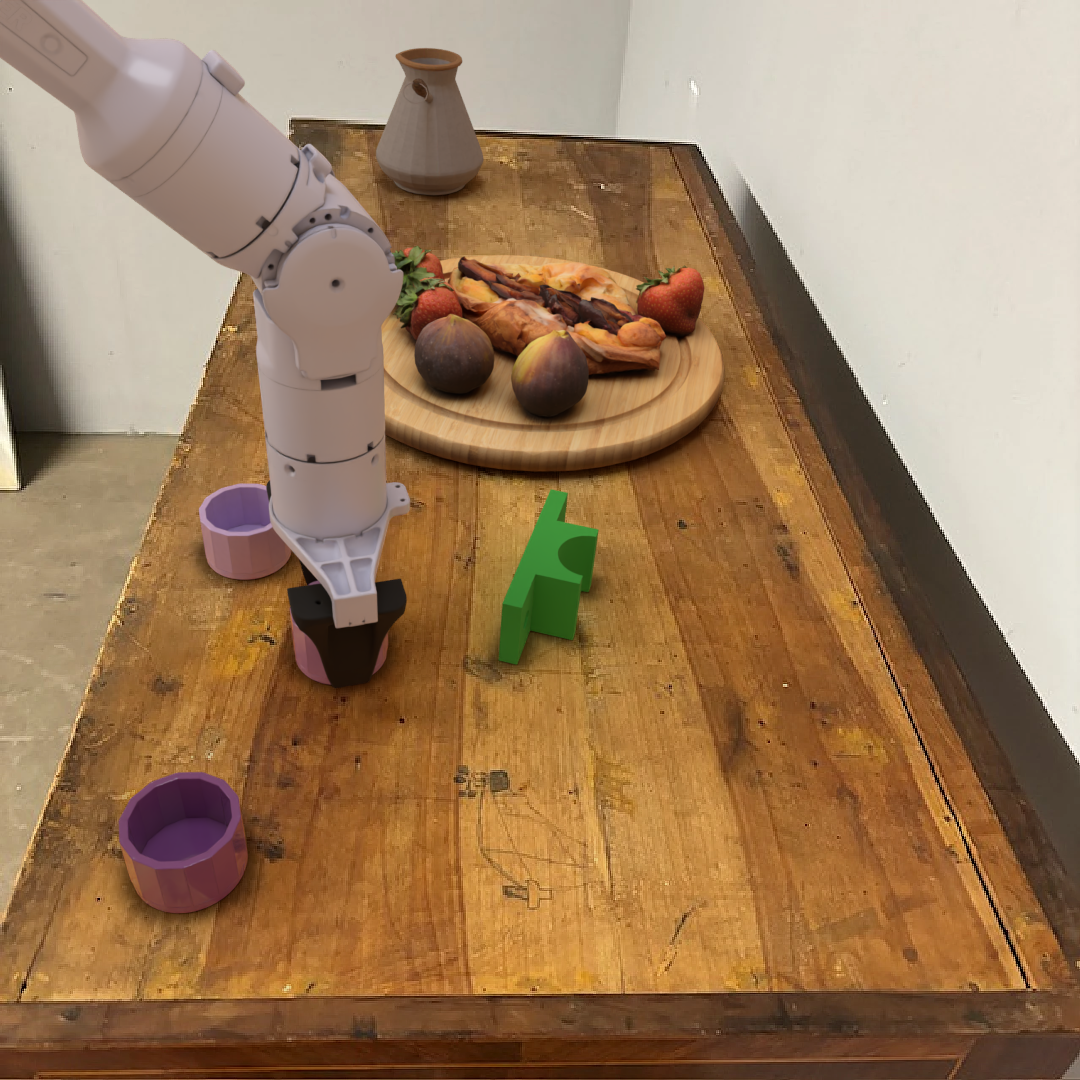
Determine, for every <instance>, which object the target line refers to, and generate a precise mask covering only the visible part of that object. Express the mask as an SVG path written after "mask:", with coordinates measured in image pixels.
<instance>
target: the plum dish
mask: <svg viewBox="0 0 1080 1080" xmlns="http://www.w3.org/2000/svg"><path fill="white" fill-rule="evenodd" d="M245 831H246V830H245V826H244V819H243V814H242V808H241V802H240V797H239V795H238V793H236V792H235V791H234V789H233V788H232V787H231V786H230V785H229V783H228V782H227V781H226V780H224V779H222V778H220V777H217V776H215V775H212V774H209V773H207V772H205V771H204V772H203V771H188V772H187V771H185V772H184V771H180V772H179V771H178V772H174V773H172V774H168V775H166V776H162V777H160V778H158V779H155V780H152V781H151V782H149V783H148V784H147V785H145V786H144V787H143V788H141V789H140V790H139V791H138V792H137V793H135V794H134V795H132V797H131V798H130V799H129V800H128V802H127V804H126V806H125V808H124V810H123V811H122V813H121V815H120V817H119V819H118V843H119V846H120V849H121V852H122V853H121V854H122V856H123V859H124V863H125V866H126V869H127V873H128V876H129V880H130V883H132V885H133V888H134V890H135V892H136V894H137V895H138V896H139V898H140V899H141V900H142V901H143V902H144V903H145V904H147V905H148V906H150V907H152V908H154V909H156V910H158V911H161V912H165V913H171V914H188V913H193V912H197V911H201V910H205V909H207V908H209V907H211V906H213V905H216V904H217V903H219V902H221V901H222V900H223V899H224V898H226V897H227V896H228V895H229V894H230V893H232V891H233V890H234V889H235V888H236V887H237V885H238V884H239V882H241V880H242V878H243V876H244V874H245V872H246V869H247V865H248V858H249V854H248V853H249V852H248V846H247V838H246V832H245Z"/></svg>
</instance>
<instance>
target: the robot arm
mask: <svg viewBox="0 0 1080 1080" xmlns="http://www.w3.org/2000/svg"><path fill="white" fill-rule="evenodd" d="M0 59H1V60H2V61H4V62H5V63H7V64H8V65H9V66H11V67H12V68H13V69H15V70H16V71H17V72H19V73H20V74H22V76H24V77H25V78H27V79H28V80H30V81H31V82H32V83H34V84H36V85H37V86H38V87H40V88H41V89H42V90H44V91H45V92H46V93H47V94H49V95H51V96H52V97H53V98H55V100H57V101H59V102H60V103H62V105H64V106H66V107H67V108H68V109H69V110H71V111H72V112H73V113H74V117H75V122H76V131H77V138H78V145H79V148H80V154H81V156H82V159H83V161H84V163H85V164H86V165H87V167H89V168H90V169H91V170H93V171H94V172H96V173H97V174H98V175H99V176H101V177H102V178H103V179H105V180H106V181H108V182H109V183H110V184H111V185H113V186H114V187H115V188H117V189H118V190H119V191H120V192H122V193H123V194H125V195H126V196H127V197H129V198H130V199H131V200H133V201H134V202H135V203H137V204H138V205H140V206H141V207H142V208H144V209H145V210H146V211H148V212H149V213H150V214H151V215H153V216H154V217H155V218H157V219H158V220H159V221H160V222H162V223H163V224H165V225H166V226H168V227H169V228H170V229H171V230H172V231H174V232H176V233H177V234H178V235H179V236H180V237H182V238H184V240H186V241H187V242H189V243H190V244H192V245H193V246H194V248H195V247H196V248H197V249H198V250H199V251H200V252H202V253H203V254H205V255H206V256H207V257H209V259H211V260H212V261H214V262H215V263H217V264H219V265H221V266H223V267H225V268H228V269H230V270H234V271H237V272H240V273H243V274H244V275H245V274H246V275H248V276H249V277H250V278H251V280H252V281H253V284H254V285H255V286H256V289H254V291H253V292H252V298H253V304H254V305H253V307H254V308H253V309H254V316H255V317H254V318H255V326H256V335H257V341H256V346H255V354H256V355H255V356H256V362H257V373H258V381H259V389H260V391H259V392H260V399H261V400H260V401H261V408H262V409H261V411H262V419H263V427H264V428H263V429H264V439H265V447H266V455H267V456H266V457H267V465H268V466H267V467H268V474H269V480H268V481H267V482H266V485H265V486H266V489H267V494H268V499H269V515H270V522H271V525H272V527H273V529H274V530H275V532H276V533H277V534H278V535H279V536H280V538H281V539H282V540H283V541H284V542H285V543H286V544H287V546H288V547H289V548H290V549H291V550H292V551H291V552H292V553H293V554H294V555H295V556H296V557H297V559H298V561H299V564H300V568H301V571H302V574H303V578H304V581H305V584H306V585H300V586H294V587H288V588H287V589H286V591H287V592H286V593H287V597H288V604H289V610H290V609H291V613H292V617H293V619H294V621H295V623H296V625H297V626H298V628H299V630H300V631H302V632H303V633H304V634H306V635H307V636H308V637H309V638H310V639H311V640H312V642H313V643H314V645H315V646H316V648H317V650H318V652H319V655H320V658H321V661H322V664H323V667H324V670H325V673H326V675H327V678H328V680H329V682H330V684H331V685H330V686H331V687H332V688H334V689H339V688H340V689H341V688H345V687H350V686H357V685H363V684H368V683H370V681H371V679H372V678H373V675H374V674H373V672H374V669H375V666H376V662H377V659H378V655H379V652H380V649H381V646H382V643H383V640H384V638H385V636H386V634H387V633H388V634H389V631H390V629H391V628H392V627H393V626H394V624H395V623H396V622H398V620H400V618H401V617H402V616H403V615H404V614H405V611H406V608H407V602H408V599H407V598H408V597H407V593H406V589H405V586H404V583H403V580H402V578H395V579H388V580H381V581H376V579H377V573H378V569H379V564H380V561H381V557H382V553H383V549H384V545H385V541H386V538H387V534H388V528H389V526H390V525H389V524H390V521H391V520H392V519H393V518H394V517H397V516H404V515H407V514H408V513H409V512H411V498H410V496H409V493H408V490H407V487H406V485H405V484H403V483H402V482H397V481H396V482H395V481H393V482H387V452H386V451H387V449H386V434H385V400H384V356H383V344H382V330H381V325H382V324H383V322H384V321H385V320H386V318H387V317H388V316H389V314H390V313H391V311H392V310H393V308H394V307H395V305H396V303H397V300H398V298H399V295H400V292H401V289H402V284H403V271H402V270H399V269H398V270H397V267H396V266H395V258H394V255H393V254H392V253H393V252H392V251H391V249H392V248H393V247H392V244H391V242H390V240H389V239H388V236H387V235H386V234H385V232H384V230H383V229H382V228H381V227H380V226H379V225H378V224H377V222H376V221H375V219H373V217H371V215H370V214H369V213H368V211H367V210H366V209H365V208H364V206H363V205H362V204H361V203H360V202H359V201H358V200H357V199H356V197H355V196H354V195H353V193H352V192H351V191H350V190H349V188H347V186H346V185H345V184H343V182H342V181H340V180H339V179H337V177H336V174H335V171H334V169H333V167H332V166H333V165H332V164H331V163H330V161H329V160H328V159H327V158H326V156H324V155H323V154H322V153H321V152H320V151H319V150H318V149H317V148H316V147H315V146H314V145H313V144H312V143H307V144H305V145H304V146H302V148H299V146H297V145H296V144H295V143H294V142H293V141H292V140H290V139H289V138H288V137H287V136H286V135H285V134H284V133H283V132H282V131H281V130H279V129H278V128H277V127H276V126H275V125H274V124H273V122H270V120H268V119H267V118H266V117H265V116H264V115H263V114H262V113H261V112H259V110H257V109H256V108H255V107H254V106H253V105H252V104H251V103H250V102H249V101H248V100H246V99H245V98H244V97H243V96H242V95H241V94H240V91H241V90H242V89H243V88H244V87H245V85H246V82H245V79H244V78H243V77H242V76H241V74H240V73H239V72H238V70H237V69H236V68H235V67H234V66H233V65H232V64H230V63H229V62H228V61H227V60H226V59H225V58H224V57H223V55H221V54H220V53H219V52H217V50H216V49H215V50H214V49H210V50H209V51H208V52H207V53H206V54H205V55H204V56H203V58H202V59H201V58H200V57H199V55H197V54H196V53H195V52H194V51H193V50H192V49H191V48H190V47H189V46H187V44H185V43H184V42H182V41H181V40H179V39H174V38H137V37H127V36H123V35H121V34H119V32H117V31H116V30H115V29H114V28H113V27H111V25H110V24H108V23H107V22H106V21H105V20H104V19H103V18H102V17H101V16H99V14H97V12H95V11H94V9H92V8H91V7H90V6H89V5H88V4H87V3H86V2H85V1H83V0H0ZM315 581H319V582H320V584H313V585H309V584H310V583H312V582H315Z"/></svg>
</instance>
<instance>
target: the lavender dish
mask: <svg viewBox="0 0 1080 1080" xmlns="http://www.w3.org/2000/svg"><path fill="white" fill-rule="evenodd" d="M198 515H199V523H200V529H201V535H202V540H203V541H202V542H203V547H204V553H205V558H206V562H207V564H208V566H209V567H210V568H211V569H212V570H213V571H214V572H215V573H217V574H218V575H220V576H223V577H225V578H228V579H231V580H241V581H244V580H245V581H246V580H255V579H261V578H265V577H267V576H270V575H272V574H274V573H276V572H278V571H279V570H281V568H283V567H284V566H285V565H286V564H287V562H288V561H289V560H290V557H291V555H292V552H293V551H292V550H291V549H290V548H289V547H288V546H287V544H286V543H285V542H284V541H283V540H282V539H281V538H280V536H279V535H278V534H277V533H276V532H275V530H274V529H273V527H272V525H271V522H270V515H269V499H268V494H267V489H266V485H264V484H261V483H237V484H232V485H228V486H225V487H221V488H219V489H217V490H216V491H214V492H212V493H211V494H210V495H207V496H206V497H205V498H204V500H203V502H202V503H201V505H200V506H199V508H198Z"/></svg>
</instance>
